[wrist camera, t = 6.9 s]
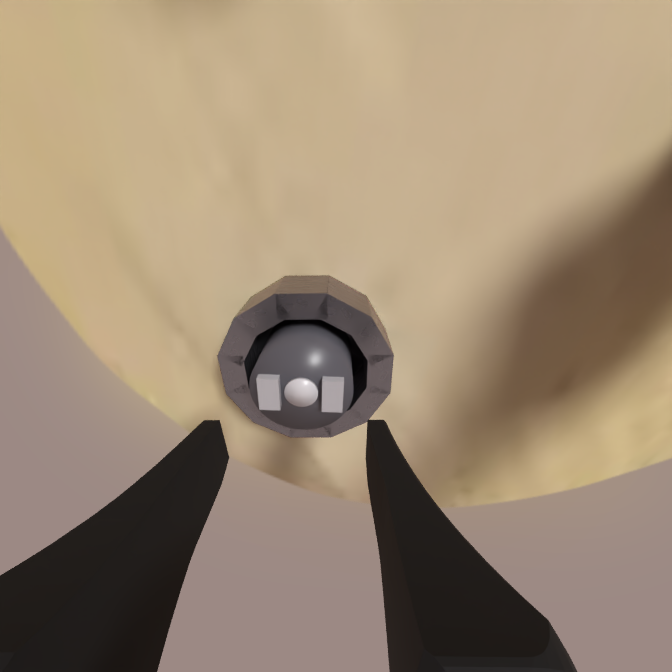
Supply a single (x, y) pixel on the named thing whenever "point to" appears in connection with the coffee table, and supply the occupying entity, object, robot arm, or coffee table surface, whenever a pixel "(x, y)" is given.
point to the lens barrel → (301, 304)
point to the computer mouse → (303, 374)
